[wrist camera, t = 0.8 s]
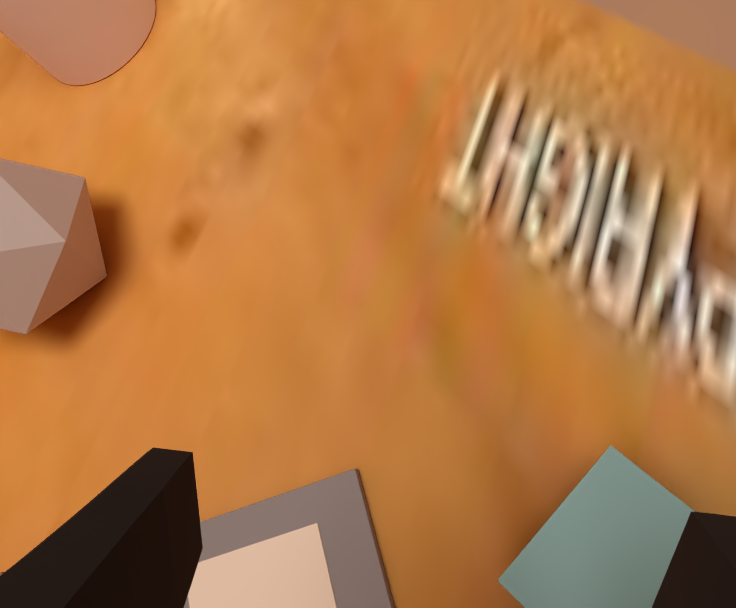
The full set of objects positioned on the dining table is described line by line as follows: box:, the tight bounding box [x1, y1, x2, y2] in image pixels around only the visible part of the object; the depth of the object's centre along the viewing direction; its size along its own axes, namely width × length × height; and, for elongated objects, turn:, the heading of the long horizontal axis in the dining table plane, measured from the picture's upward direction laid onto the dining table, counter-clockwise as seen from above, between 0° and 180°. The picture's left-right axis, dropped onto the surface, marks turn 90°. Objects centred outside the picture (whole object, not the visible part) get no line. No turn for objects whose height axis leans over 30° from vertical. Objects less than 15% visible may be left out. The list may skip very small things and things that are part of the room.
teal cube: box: [497, 446, 695, 608], centre depth 19 cm, size 5×5×5 cm
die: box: [0, 158, 107, 334], centre depth 30 cm, size 8×9×10 cm
